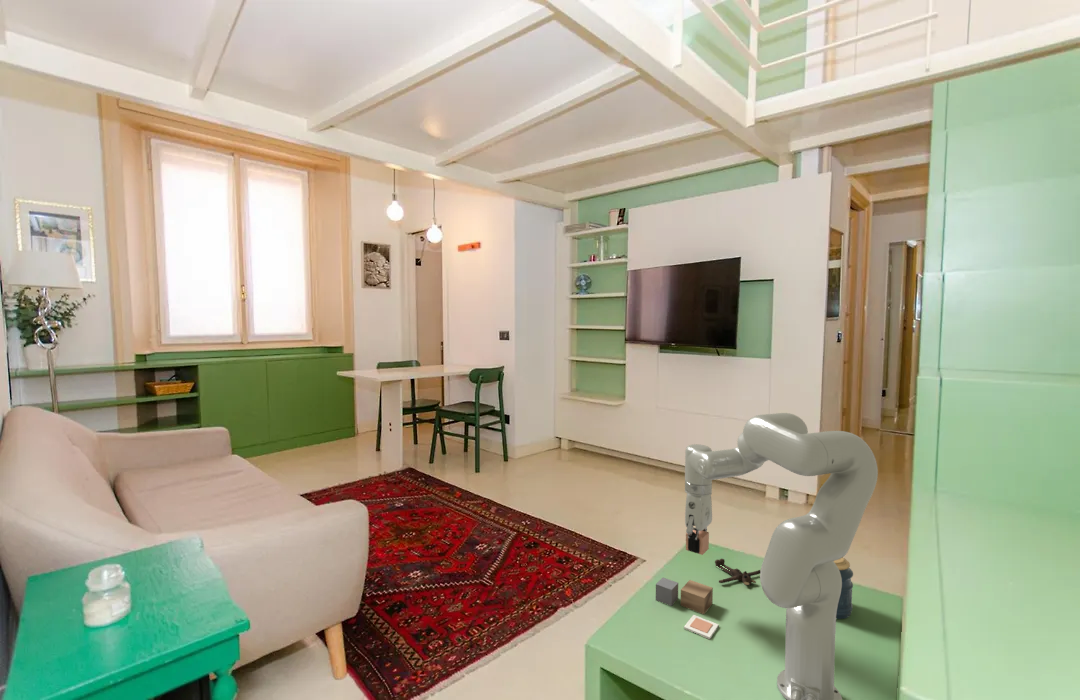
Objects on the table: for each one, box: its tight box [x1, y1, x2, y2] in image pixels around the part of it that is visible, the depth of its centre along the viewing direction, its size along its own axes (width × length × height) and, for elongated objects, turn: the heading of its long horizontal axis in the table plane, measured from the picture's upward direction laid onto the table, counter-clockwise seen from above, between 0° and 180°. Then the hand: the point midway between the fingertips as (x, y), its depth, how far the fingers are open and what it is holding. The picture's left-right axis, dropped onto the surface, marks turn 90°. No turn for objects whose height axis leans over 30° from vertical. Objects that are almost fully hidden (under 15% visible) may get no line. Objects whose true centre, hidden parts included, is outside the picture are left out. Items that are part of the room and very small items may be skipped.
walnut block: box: [680, 579, 714, 615], centre depth 137 cm, size 7×7×5 cm
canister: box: [834, 557, 854, 620], centre depth 136 cm, size 13×13×18 cm
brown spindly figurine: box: [714, 558, 761, 586], centre depth 154 cm, size 18×4×14 cm
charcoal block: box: [655, 577, 679, 607], centre depth 140 cm, size 5×5×5 cm
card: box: [683, 614, 720, 640], centre depth 127 cm, size 7×7×1 cm
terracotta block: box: [685, 530, 710, 556], centre depth 137 cm, size 5×5×5 cm
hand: (697, 547), depth 137 cm, fingers closed on terracotta block, 5 cm apart
